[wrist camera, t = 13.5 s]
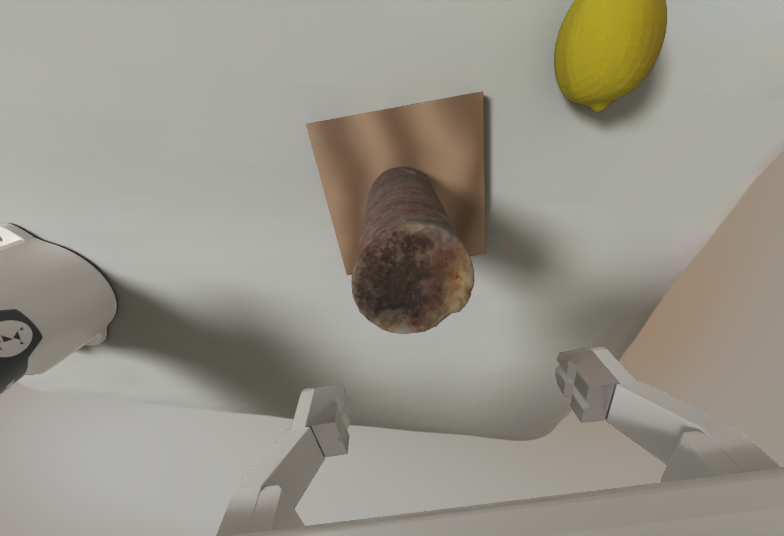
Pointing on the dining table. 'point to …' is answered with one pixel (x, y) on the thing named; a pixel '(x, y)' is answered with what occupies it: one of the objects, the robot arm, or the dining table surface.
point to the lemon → (607, 48)
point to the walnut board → (405, 163)
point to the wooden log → (409, 256)
